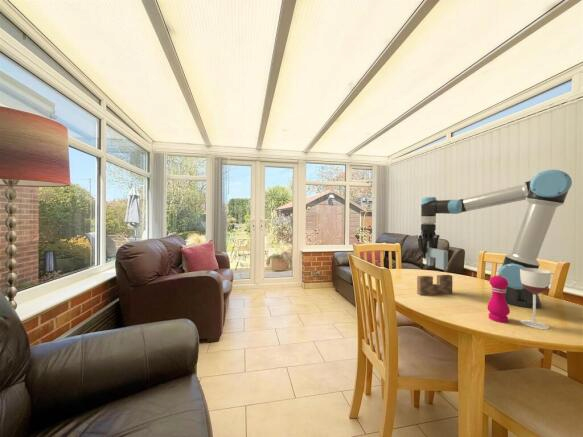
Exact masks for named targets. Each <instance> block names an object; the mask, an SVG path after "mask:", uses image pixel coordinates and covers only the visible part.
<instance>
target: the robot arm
mask: <svg viewBox="0 0 583 437" xmlns="http://www.w3.org/2000/svg"><path fill="white" fill-rule="evenodd" d="M572 183H573V180H572V177H571V176H570V174H568V173H567V172H565V171H563V170H560V169H547V170H542V171H541V172H538V173H537V174H535V175H534V176H533V177H532V178H531V179H530V180H527V181H524V182H523V183H522V184H520V185H516V186H512V187H507V188H503V189H499V190H495V191H491V192H486V193H485V192H484V193H482V194H477V195H474V196H468V197H465V198H461V199H445V200H444V199H442V200H440V199H437V197H436V196H429V197H428V196H426V197H425V196H423V197H422V198H421V204H420V208H421V210H420V211H421V212H420V220H421V221H420V223H421V224H420V231H421V232H420V234H417V235H416V238H417V244H418V245H417V246H418V252H420V253H421V256H422V257H421V258H422V264H423V263H424V265H426V264H427V260H428V253H426V251H427V247H430V248H435V249H438V244H439V240H440V239H439V238H440V237H441V236H440V235H439V234H437V232H436V229H437V228H436V227H437V225H436V223H437V214H439V215H440V214H444V215H445V214H448V215H449V214H451V215H457V214H458V215H459V214H461V213H466V212H470V211H475V210H481V209H485V208H490V207H491V208H492V207H495V206H501V205H506V204H512V203H516V202H521V201H525V200H526V201H527V202H528V205H527V208H526V211H525V214H524V216H523V219H522V222H521V225H520V228H519V230H518V234H517V236H516V239H515V242H514V244H513V247H512V250H511V252H510V253H507V254H505V256H504V259H503V262H502V265H501V267H500V268H499V269H498V273H501V277H504V278H505V279H506V280H507V281H508V286H507V287H506V288H505V289H506V293H505V300H506V302H507V304H508V305H509V304H510V305H512V306H517V307H521V308H528V309H533V293H531V292H530V291H528V290H526V289H525V288H524V287H523V285H522V283H521V278H520V268H535V269H540V265H541V264H540V262H539V261H538V257H539V255H540V251H541V249H542V247H543V244H544V241H545V238H546V236H547V233H548V231H549V227H550V226H551V223H552V220H553V217H554V215H555V212H556V209H557V208H558V207H560V206H563V205H564V203H565V200H566V198H567V195H568V193H569V190H570V189H571V187H572V185H573V184H572ZM541 307H542V300H541V299H540V296H539V294H536V309H538V308H541Z"/></svg>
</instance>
